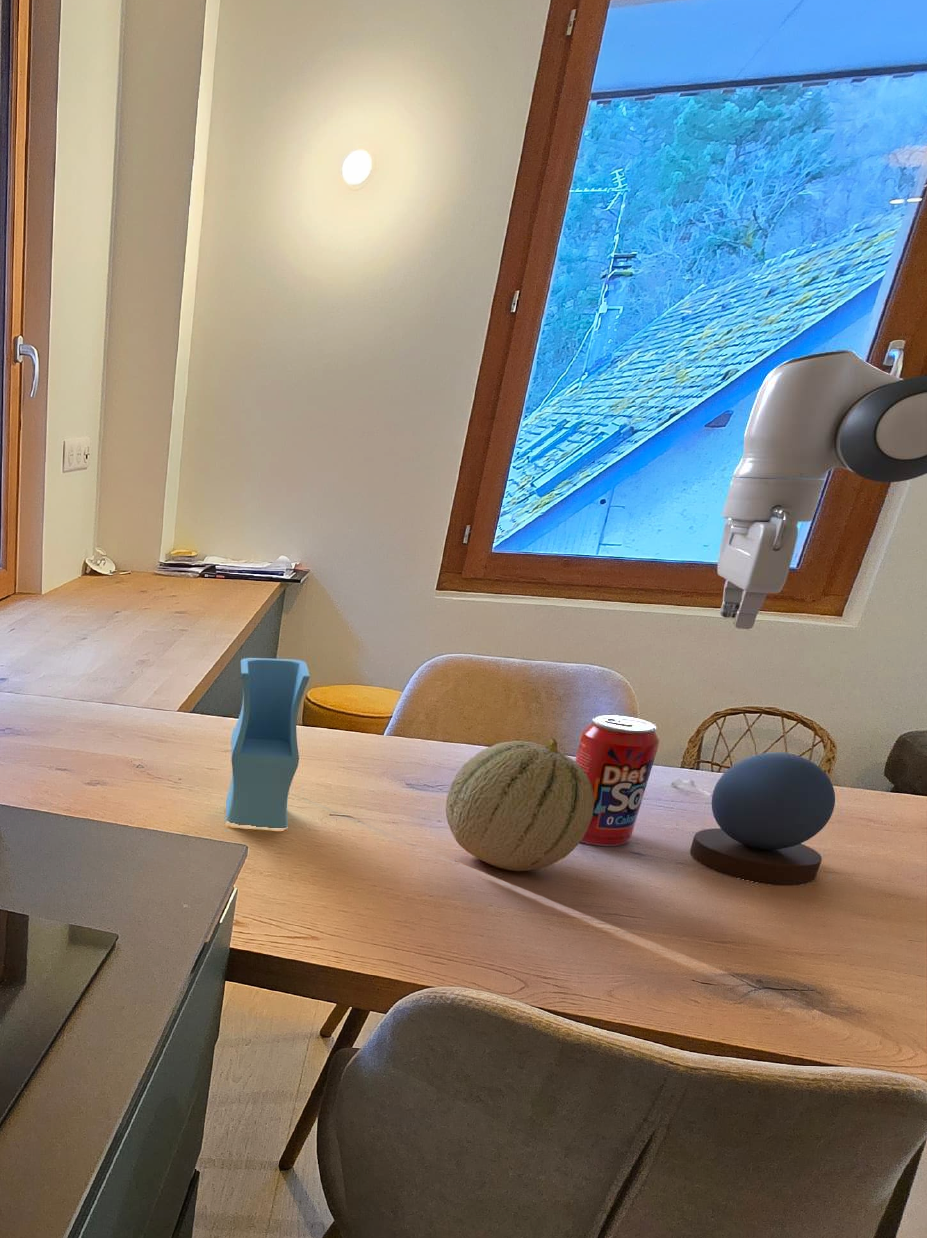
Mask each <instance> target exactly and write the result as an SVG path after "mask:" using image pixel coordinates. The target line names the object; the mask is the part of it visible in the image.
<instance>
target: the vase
mask: <svg viewBox="0 0 927 1238" xmlns="http://www.w3.org/2000/svg"><path fill="white" fill-rule="evenodd" d="M240 675H241V683H242V703H241V707H240V709H241V710H240V712H239V716H238V719H237V721H236V723H235V726H234V728H233V731H232V732H231V738H230V748H231V749H230V750H231V751H230V752H231V753H230V754H231V755H230V759H231V779H230V785H229V789H228V793H227V796H226V798H225V801H226V820H227V821H229V822H230V823H235V824H238V825H251V826H256V827H268V828H286V827H287V826H288V827H289V825H288V824H289V823H288V799H289V793H290V789H291V785H292V783H293V779H294V777H295V774H296V772H297V769H298V767H299V761H300V753H299V746H298V737H297V725H298V724H297V722H298V715H299V710H300V709H299V708H300V706H301V702H302V699H303V695H304V693H305V692H306V691H305V690H306V689H307V686H308V683H309V680H310V678H311V675H310V673H309V668H308V665H307V663H306V661H304V660H300V659H290V658H267V657H244V658H242V659H240Z"/></svg>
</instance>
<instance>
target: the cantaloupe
mask: <svg viewBox="0 0 927 1238" xmlns="http://www.w3.org/2000/svg"><path fill="white" fill-rule="evenodd" d="M445 802H446V804H445V815H446V821H447V824H448V826H449V829H450V831H451V833H452V836H453V838H454V839H455V841H456V843H457V844H458V846H460V847H461V848H462V849H463V850H465V851H466V852H467V853H469V854H470V855H472V856H473V857H475V858H476V859H478V860H480V861H482V862H484V863H485V864H488V865H490V866H493V867H496V868H498V869H502V870H506V871H509V872H526V871H532V870H537V869H543V868H545V867H549V866H551V865H554V864H555V863H556V864H557V862H559V861H561V860H563V859H565V858H566V857H567V856H568V855H570V854H571V853H572V852H573V851H574V850H575V848H576V847H577V846H578V845H579V844H580V843H581V842H580V841H581V840H582V839H583V836H584V834H585V833H586V831H587V830H588V826H589V824H590V822H591V819H592V816H593V809H594V794H593V790H592V786H591V783H590V781H589V779H588V777H587V775H586V773H585V772H584V771H583V769H582V768H581V767H580V766H579V765H578V764H577V763H576V762H575V759H573V758H571V757H569V756H568V755H565V754H564V753H563V752H561V751H559V750H558V741H557V740H556V738H554V737H550V739H549V741H548V744H547V745H543V744H539V743H535V742H532V741H525V740H513V741H506V742H499V743H496V744H494V745H491V746H487V747H486V748H484V749H482V750H481V751H479V752H478V753H476V754H475V755H474V756H473V757H470V758H469V759H468V760H467V762H465V763H464V765H462V766H461V768H460V769H459V771H458V772H457V774H456V775H455V776H454V778H453V780H452V782H451V784H450V787H449V789H448V792H447V796H446V801H445Z"/></svg>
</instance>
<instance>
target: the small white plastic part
mask: <svg viewBox="0 0 927 1238" xmlns="http://www.w3.org/2000/svg"><path fill="white" fill-rule="evenodd" d="M670 785H671V786H673V787H676V788H677V789H678V790H683V791H687V792H692V793H696V794H700V795H704V796H708V797H712V795H713V794H711V793H710V792H708V791H705V790H703V788H700V787H698V786H696V785H695V781H694V780H693V779H688V780H685V779H683V778H681V779H680V778H676V779H674V780H673V781H672V783H671V784H670Z"/></svg>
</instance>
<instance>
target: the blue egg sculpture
mask: <svg viewBox="0 0 927 1238" xmlns="http://www.w3.org/2000/svg"><path fill="white" fill-rule="evenodd" d="M835 792H836V791H835V789H834V785H833V783H832V781H831V778H830V776H829V775H828V774H827V773H826V771H824V769H823V768H822V767H820V766H819V765H817V764H816V763H815V762H813V761H811V760H810V759H807V758H806V757H803V756H801V755H797V754H794V753H789V752H777V751H775V752H773V751H772V752H764V753H758V754H755V755H751V756H748V757H746V758H744V759H741V760H740V761H737V762H736V763H734V764H733V765H732V766H730V767H729V768H728V769H727V770H726V771H725V772H723V774H722V775H721V776H720V778H719V779H718V781H717V782H716V784H715V786H714V788H713V791H712V794H711V795H712V796H711V811H712V815H713V817H714V820H715V822H716V823H717V825H718V827H719V828H718V827H717V828H708V829H707V828H706V829H701V830H699V831H697V832H696V833H695V834H694V836H693V838H692V843H691V845H690V849H689V854H690V856H691V857H692V858H693V860H695V861H696V862H697V863H698V864H700V865H702V866H704V867H705V868H707V869H709V870H711V871H714V872H717V873H719V874H722V875H724V876H728V877H730V878H734V877H735V878H734V879H737V878H740V879H739V880H741V879H744V880H743V881H745V880H749V881H748V882H750V881H753V882H752V883H755V882H758V883H757V884H761V883H763V884H762V885H768V884H770V885H771V886H782V887H783V886H785V887H791V886H792V887H794V885H795V886H802V885H801V884H803V885H807V884H809V883H808V882H810V883H812V882H813V881H814V880H815V879H816V877H817V874H818V872H819V869H820V866H821V863H822V860H823V858H822V855H821V854H820V853H819V852H818V851H816V850H815V849H813V848H812V847H810V846H807V845H805V844H803V843H805V842H807V841H809V840H810V839H812V838H813V837H815V836H816V835H817V834H818V833H820V832H821V831H822V830H823V829H824V828H825V827H826V825H827V824H828V822H829V820H830V819H831V817H832V815H833V813H834V809H835V805H836V793H835ZM812 880H813V881H812ZM811 881H812V882H811ZM806 883H807V884H806ZM770 885H769V886H770Z"/></svg>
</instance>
